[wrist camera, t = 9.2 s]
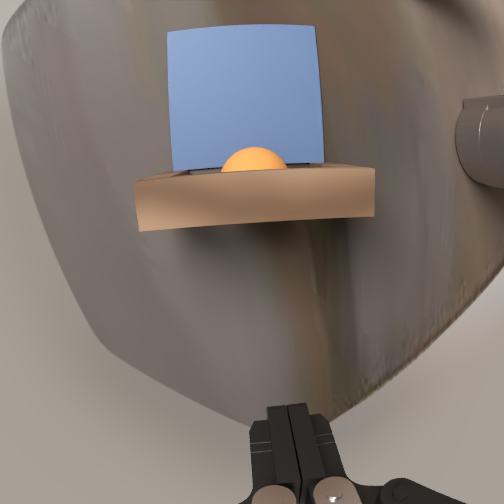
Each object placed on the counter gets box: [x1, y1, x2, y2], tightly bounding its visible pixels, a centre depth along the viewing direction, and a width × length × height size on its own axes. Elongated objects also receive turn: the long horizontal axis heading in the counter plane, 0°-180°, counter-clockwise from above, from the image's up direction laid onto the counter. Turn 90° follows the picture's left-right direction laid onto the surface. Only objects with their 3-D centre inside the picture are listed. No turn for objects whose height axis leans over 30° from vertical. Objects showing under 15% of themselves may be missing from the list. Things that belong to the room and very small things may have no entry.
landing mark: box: [167, 25, 324, 171], centre depth 24 cm, size 13×13×1 cm
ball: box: [221, 147, 288, 172], centre depth 24 cm, size 6×6×6 cm
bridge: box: [133, 162, 375, 231], centre depth 23 cm, size 3×14×9 cm, turn 93°
